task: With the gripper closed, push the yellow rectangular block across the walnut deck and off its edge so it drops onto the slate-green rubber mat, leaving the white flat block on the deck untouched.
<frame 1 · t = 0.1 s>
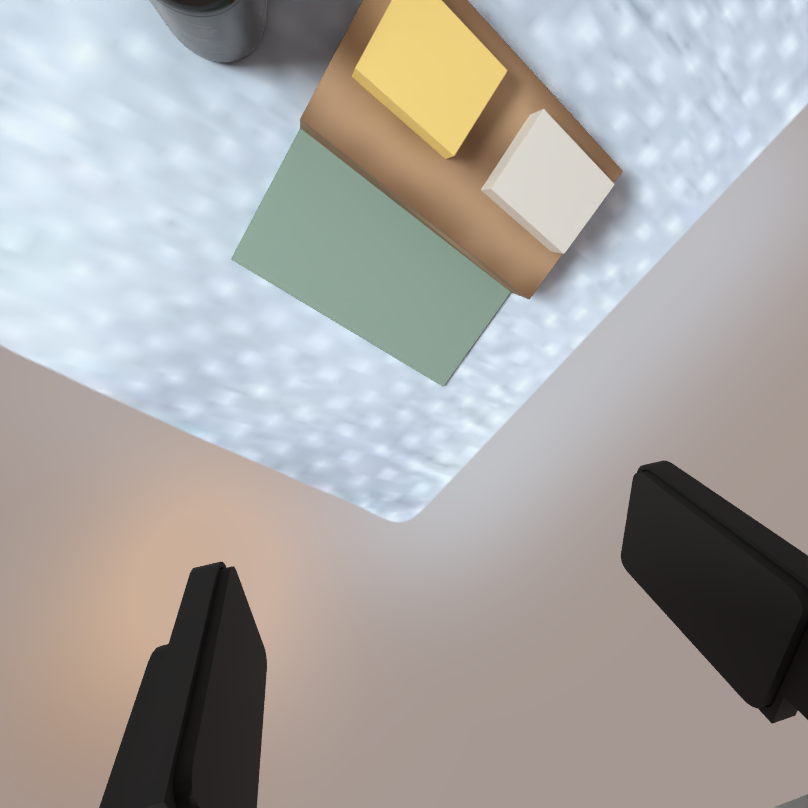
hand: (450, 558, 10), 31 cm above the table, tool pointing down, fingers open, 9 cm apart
supplement bottle: (213, 1, 28), on the table
white flat block: (541, 187, 33), point 4 cm above the table, touching deck
mat: (385, 271, 37), on the table
yellow rectangular block: (425, 77, 29), point 4 cm above the table, touching deck
deck: (458, 153, 35), on the table
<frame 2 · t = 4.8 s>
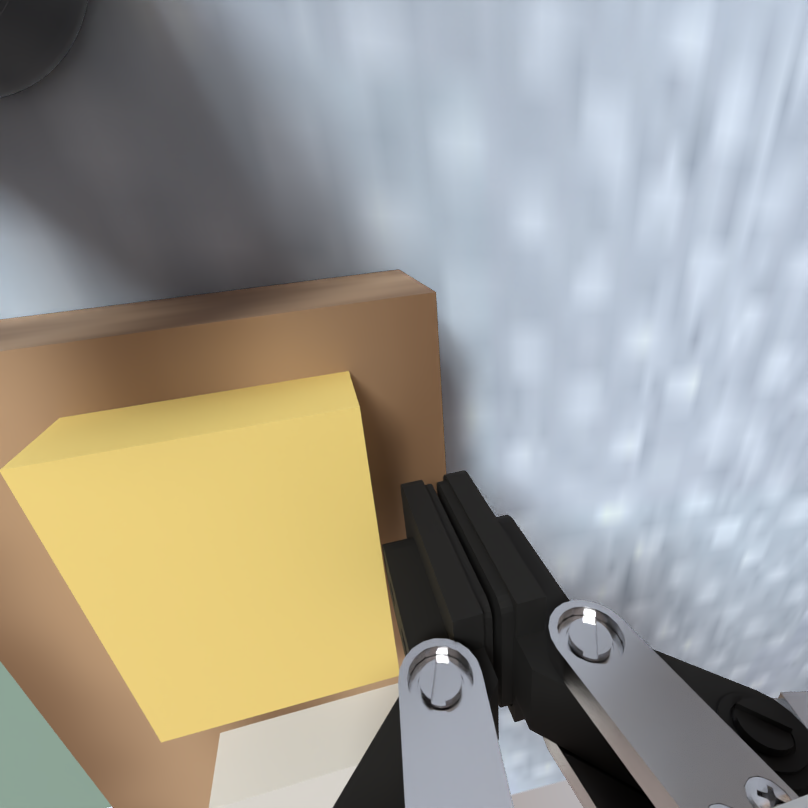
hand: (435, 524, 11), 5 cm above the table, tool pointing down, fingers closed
white flat block: (333, 770, 16), point 4 cm above the table, touching deck
yellow rectangular block: (255, 534, 11), point 4 cm above the table, touching deck, gripper
deck: (276, 578, 17), on the table
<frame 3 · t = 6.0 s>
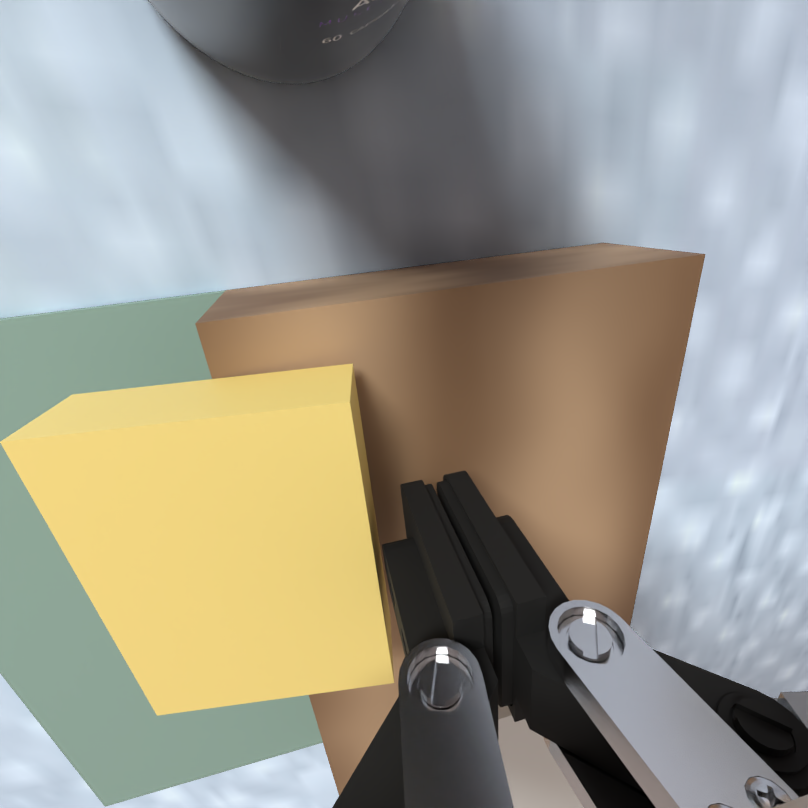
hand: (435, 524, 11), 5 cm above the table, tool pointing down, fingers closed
white flat block: (506, 715, 17), point 4 cm above the table, touching deck
mat: (166, 602, 16), on the table
yellow rectangular block: (257, 523, 11), point 4 cm above the table, tilted 8°, touching deck
deck: (445, 537, 18), on the table
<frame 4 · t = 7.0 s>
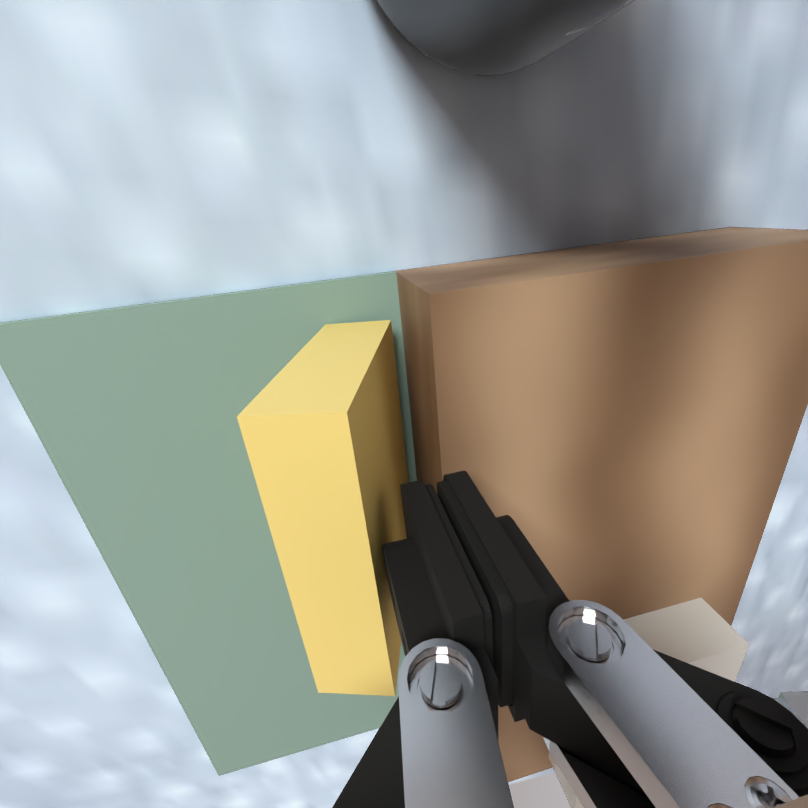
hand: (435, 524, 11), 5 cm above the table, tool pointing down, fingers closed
white flat block: (619, 682, 18), point 4 cm above the table, touching deck
mat: (299, 573, 17), on the table
yellow rectangular block: (392, 492, 12), point 4 cm above the table, tilted 108°, touching gripper, mat
deck: (554, 513, 19), on the table
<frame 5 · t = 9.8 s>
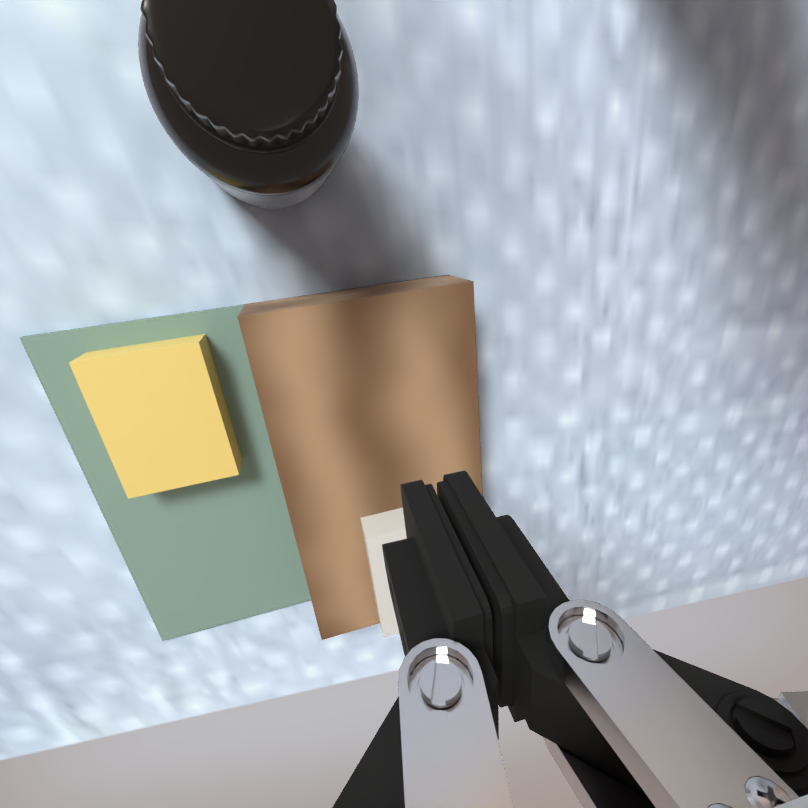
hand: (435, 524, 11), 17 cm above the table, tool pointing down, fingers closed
supplement bottle: (266, 135, 22), on the table
white flat block: (413, 555, 28), point 4 cm above the table, touching deck
mat: (207, 489, 27), on the table
yellow rectangular block: (161, 423, 23), point 2 cm above the table, tilted 180°, touching mat
deck: (375, 452, 29), on the table
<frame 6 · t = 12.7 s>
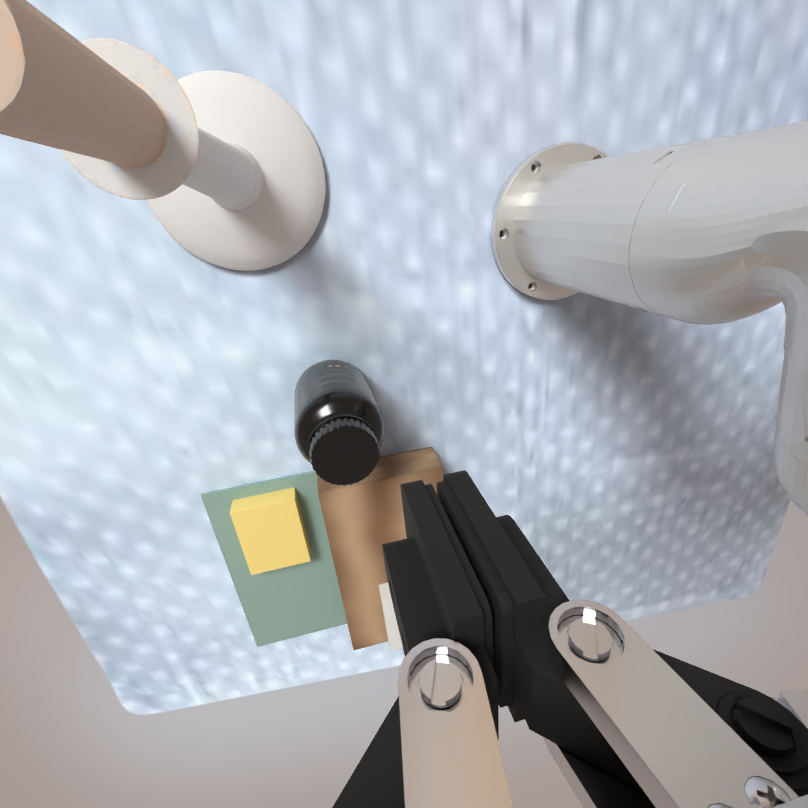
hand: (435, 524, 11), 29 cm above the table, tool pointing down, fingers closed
supplement bottle: (332, 391, 40), on the table
white flat block: (409, 604, 48), point 4 cm above the table, touching deck
mat: (289, 563, 47), on the table
yellow rectangular block: (272, 538, 42), point 2 cm above the table, tilted 180°, touching mat
deck: (387, 540, 49), on the table
candlestick: (237, 179, 32), on the table
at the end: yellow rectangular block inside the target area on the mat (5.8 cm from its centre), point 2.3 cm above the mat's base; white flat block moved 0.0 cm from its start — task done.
